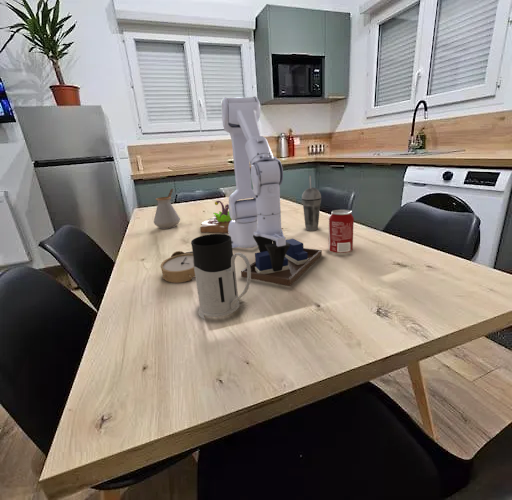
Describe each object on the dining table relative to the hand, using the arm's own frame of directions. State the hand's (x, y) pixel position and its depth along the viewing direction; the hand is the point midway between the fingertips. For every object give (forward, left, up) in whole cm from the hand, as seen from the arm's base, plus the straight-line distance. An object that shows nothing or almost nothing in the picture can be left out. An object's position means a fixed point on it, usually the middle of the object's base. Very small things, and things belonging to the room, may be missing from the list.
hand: (271, 265), depth 76 cm
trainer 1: (0, 0, -1) cm, 1 cm away
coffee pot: (-71, +32, -2) cm, 77 cm away
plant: (-42, +35, -2) cm, 54 cm away
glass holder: (+1, -21, -2) cm, 21 cm away
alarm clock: (-23, -8, -2) cm, 24 cm away
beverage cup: (-6, +42, -2) cm, 42 cm away
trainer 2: (+2, +9, -1) cm, 9 cm away
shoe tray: (+1, +4, -2) cm, 5 cm away
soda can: (+11, +21, -2) cm, 24 cm away
